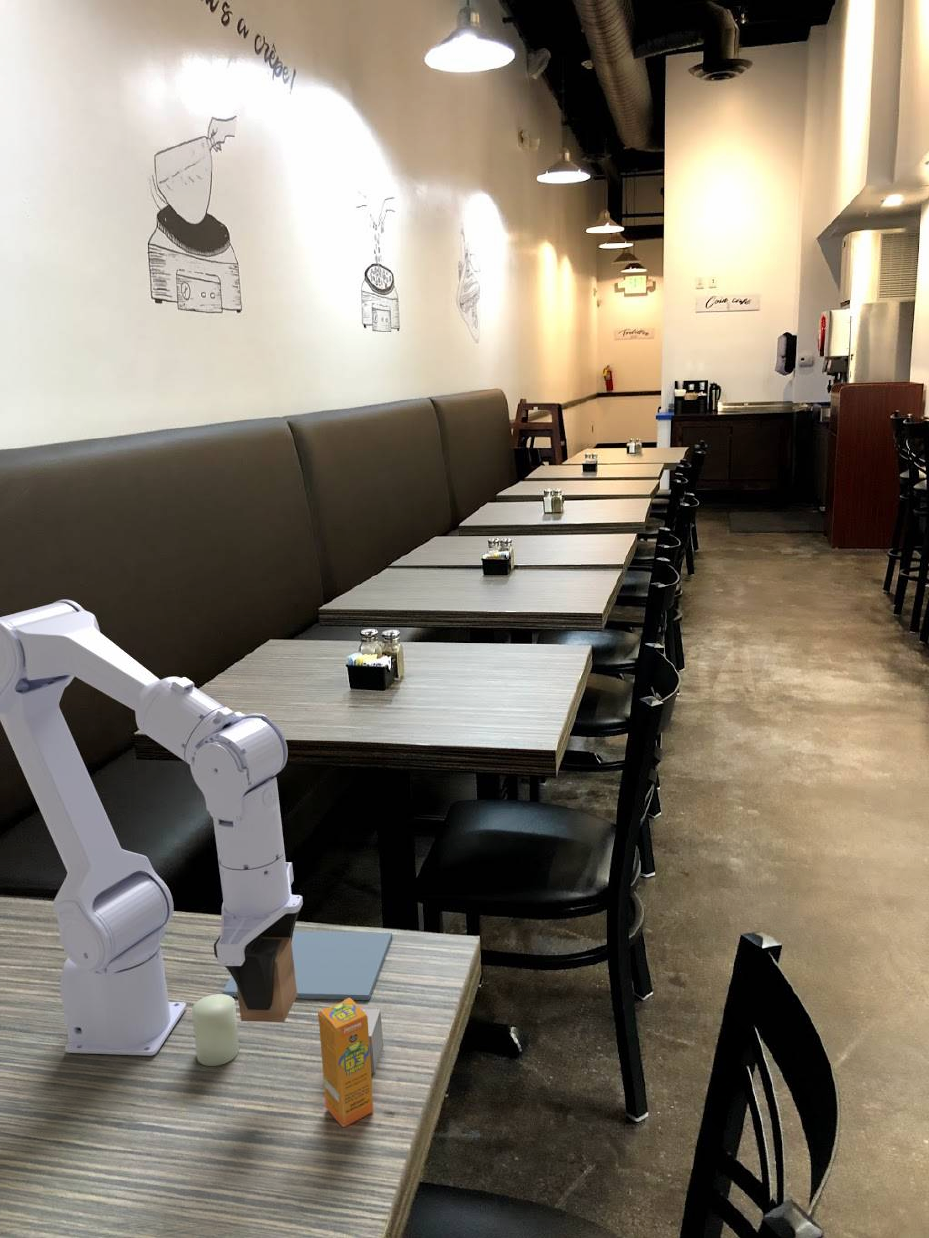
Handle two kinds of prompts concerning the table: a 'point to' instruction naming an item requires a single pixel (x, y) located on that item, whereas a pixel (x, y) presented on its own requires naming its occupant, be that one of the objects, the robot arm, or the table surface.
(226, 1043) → the sage cylinder
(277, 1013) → the walnut block
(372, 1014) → the grey cube
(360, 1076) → the supplement box
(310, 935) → the slate mat
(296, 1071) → the table surface
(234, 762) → the robot arm
